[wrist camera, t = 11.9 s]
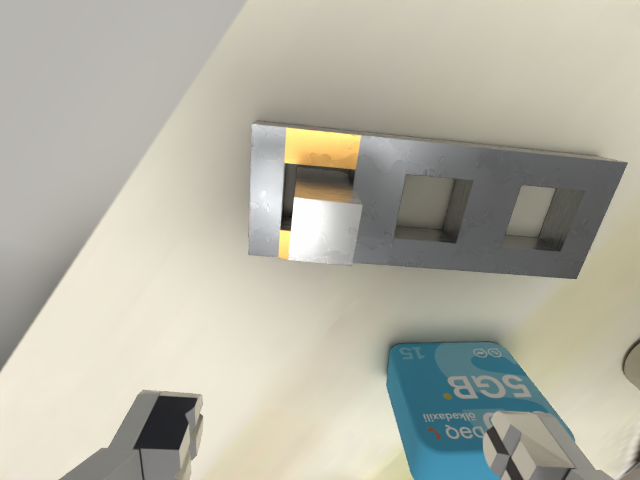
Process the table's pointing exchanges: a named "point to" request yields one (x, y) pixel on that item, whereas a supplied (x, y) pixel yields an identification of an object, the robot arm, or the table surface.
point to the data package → (455, 404)
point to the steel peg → (324, 217)
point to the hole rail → (464, 208)
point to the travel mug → (633, 366)
